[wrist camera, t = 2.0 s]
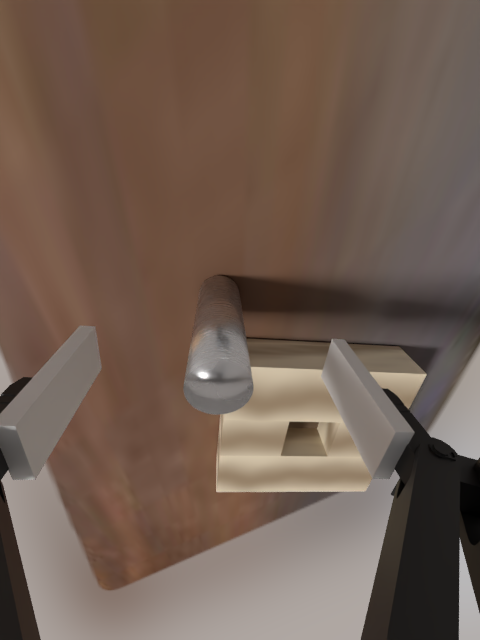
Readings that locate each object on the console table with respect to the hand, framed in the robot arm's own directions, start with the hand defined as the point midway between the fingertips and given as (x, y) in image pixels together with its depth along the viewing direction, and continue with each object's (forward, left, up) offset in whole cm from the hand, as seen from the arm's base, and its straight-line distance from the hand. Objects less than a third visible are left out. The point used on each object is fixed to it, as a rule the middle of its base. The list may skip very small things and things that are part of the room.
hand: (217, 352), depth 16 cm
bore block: (+12, +9, -8) cm, 17 cm away
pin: (0, 0, -8) cm, 8 cm away
